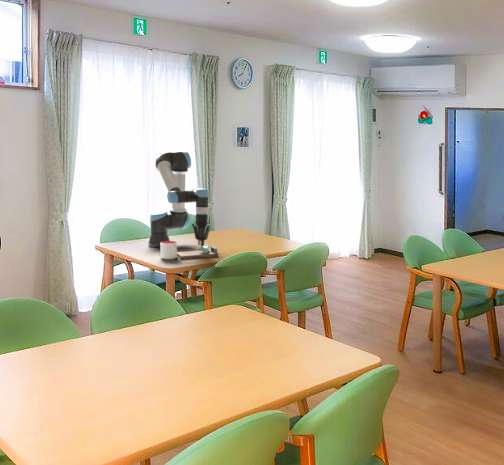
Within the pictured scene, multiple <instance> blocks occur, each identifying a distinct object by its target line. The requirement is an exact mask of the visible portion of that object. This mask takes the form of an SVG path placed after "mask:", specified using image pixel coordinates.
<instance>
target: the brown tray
mask: <svg viewBox="0 0 504 465" xmlns="http://www.w3.org/2000/svg"><path fill="white" fill-rule="evenodd" d="M218 257H219V253H218V248H217V247H216V246H214V245H213V246H210V249H209V250H208V252H207V253H202V251H199V250H189V251H177V257H176V258H179V259H180V260H192V259H194V260H195V259H204V258H205V259H207V258H218Z"/></svg>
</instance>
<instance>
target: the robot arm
mask: <svg viewBox="0 0 504 465" xmlns="http://www.w3.org/2000/svg"><path fill="white" fill-rule="evenodd" d="M191 158H192V157H191V155H190V154H189V152H188V151H186V150H166V151H165V150H164V151H162V152H160V153H159V154H158V155H157V156H156V159H155V168H156V170H157V171H158V172H159V173H160V175H161V178H162V181H163V182H164V185H165V186H166V189H167V191H168V192H167V202H168V203H169V204H171V205H172V206H171V208H170V209H169V212H168V211H167V210H159V211H155V212H152V213H151V214H150V217H149V221H150V222H149V223H150V236H149V238H148V242H147V243H148V247H150V248H160V242H163V241H171V240H170V237H169V234H168V233H169V232H168V231H169V230H183V229H186V228H188V227H189V225H190V220H191V219H190V212H188V210H187V209H186V204H188V203H195V222H194V223H192V224H191V226H192V228H193V232H194V237H195V240H197V241H198V242H197V244H198V246H199V247H198V251H202V248H203V246H204V245H205V241H206V240H208V237H209V233H210V230H211V228H212V225H210V224H209V221H208V220H209V219H208V218H209V214H208V213H209V189H207V188H197V189H191V190H186V174H187V173H188V172H189V171H188V170H189V169H190V168H191V167H192V159H191Z"/></svg>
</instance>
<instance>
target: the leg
mask: <svg viewBox="0 0 504 465" xmlns="http://www.w3.org/2000/svg"><path fill="white" fill-rule="evenodd" d="M209 248H210V247H209V244H208V243H207V244H206V243H204V246H203V248H202V253H207V252H208V250H210V249H209Z"/></svg>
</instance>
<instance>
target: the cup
mask: <svg viewBox="0 0 504 465" xmlns="http://www.w3.org/2000/svg"><path fill="white" fill-rule="evenodd" d="M177 246H178V242H177V241H175V240H170V241H163V242H160V247H159V248H160V259H163V260H174V259H176V258H178V257H177V252H178V247H177Z"/></svg>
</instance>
